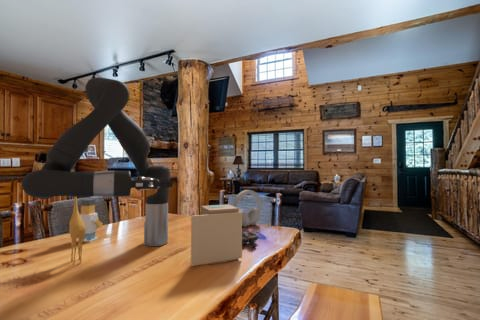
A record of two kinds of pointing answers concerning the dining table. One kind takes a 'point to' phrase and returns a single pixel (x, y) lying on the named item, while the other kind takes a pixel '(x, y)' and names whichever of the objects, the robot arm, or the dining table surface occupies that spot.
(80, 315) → the dining table surface
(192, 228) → the flap
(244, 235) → the figurine
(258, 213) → the headphones
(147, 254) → the dining table surface
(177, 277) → the dining table surface
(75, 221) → the giraffe
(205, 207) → the carton
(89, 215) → the character figure
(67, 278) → the dining table surface
